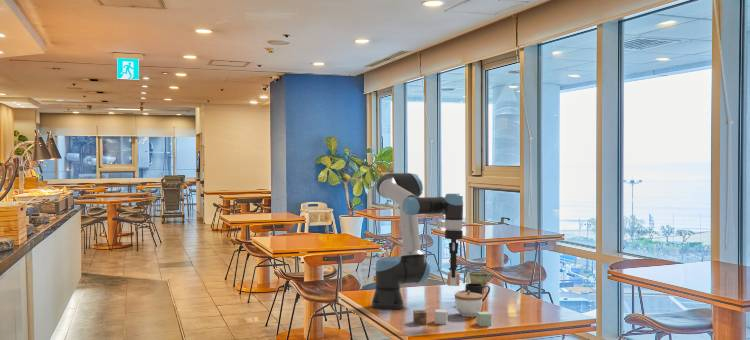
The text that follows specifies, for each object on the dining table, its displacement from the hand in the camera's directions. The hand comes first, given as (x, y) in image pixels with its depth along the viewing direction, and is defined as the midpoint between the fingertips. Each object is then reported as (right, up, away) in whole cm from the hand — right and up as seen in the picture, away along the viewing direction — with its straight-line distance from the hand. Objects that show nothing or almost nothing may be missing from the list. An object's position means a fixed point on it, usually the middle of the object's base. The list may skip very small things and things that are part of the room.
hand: (453, 283), depth 273 cm
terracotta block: (0, 0, 0) cm, 0 cm away
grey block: (-5, -17, +1) cm, 18 cm away
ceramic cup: (+24, -17, +74) cm, 79 cm away
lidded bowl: (+9, -17, +15) cm, 24 cm away
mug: (+17, -17, +38) cm, 45 cm away
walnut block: (-14, -17, -1) cm, 22 cm away
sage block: (+13, -17, -3) cm, 21 cm away
